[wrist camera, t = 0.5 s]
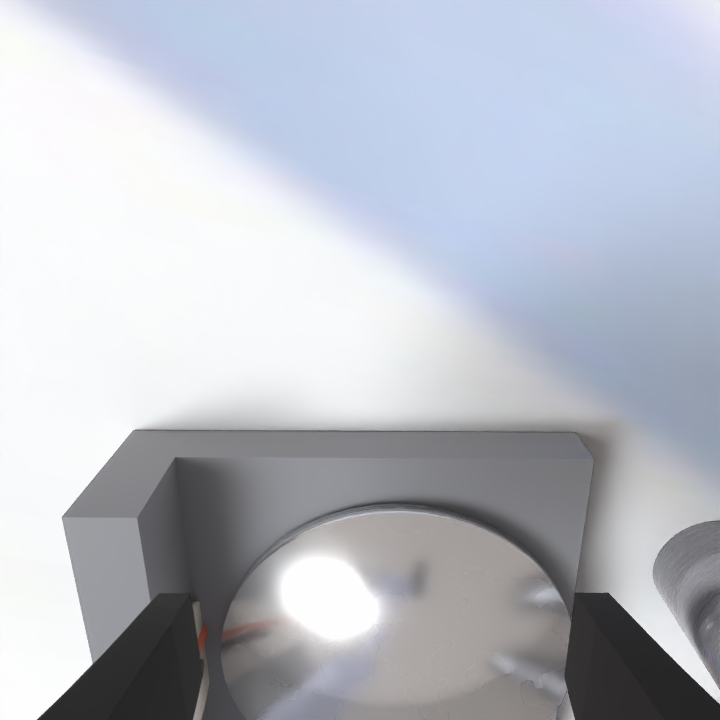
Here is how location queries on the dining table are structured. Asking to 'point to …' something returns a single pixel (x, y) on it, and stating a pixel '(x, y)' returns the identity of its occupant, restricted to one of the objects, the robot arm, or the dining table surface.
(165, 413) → the dining table surface
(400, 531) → the pan
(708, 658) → the cylinder
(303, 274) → the dining table surface
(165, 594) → the robot arm
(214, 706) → the scale
